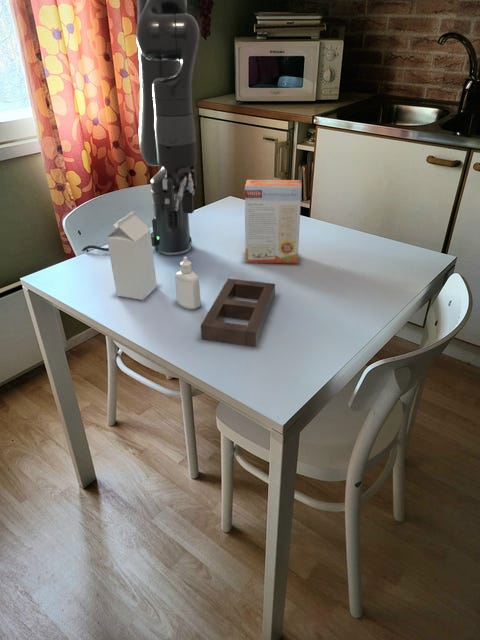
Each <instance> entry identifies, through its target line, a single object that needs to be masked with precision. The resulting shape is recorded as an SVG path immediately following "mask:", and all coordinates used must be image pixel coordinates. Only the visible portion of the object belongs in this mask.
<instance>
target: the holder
mask: <svg viewBox="0 0 480 640" xmlns="http://www.w3.org/2000/svg"><path fill="white" fill-rule="evenodd" d="M235 298H241V299H242V298H243V299H250V300H258V301H257V302H256V301H247V300H238V299H235ZM275 298H276V283H272V282H271V283H270V282H265V281H264V282H263V281H256V280H255V281H253V280H245V279H237V278H227V280H226V281H225V283H224V284H223V286H222V288H221V290H220V291H219V292H218V295H217V297H216V298H215V300H214V302H213V303H212V305H211V307H210V309H209V310H208V311H207V314H206V315H205V317H204V319H203V320H202V322H201V324H200V333H201V334H200V335H201V340H204V341H210V342H218V343H225V344H231V345H238V346H246V347H253V348H256V347H257V344H258V342H259V339H260V337H261V333H262V331H263V330H264V327H265V324H266V321H267V319H268V316H269V313H270V311H271V308H272V305H273V302H274V300H275ZM225 318H227V319H237V320H243V321H248V323H247V325H246V324H240V323H232V322H225V321H223V320H224V319H225Z"/></svg>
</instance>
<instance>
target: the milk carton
mask: <svg viewBox="0 0 480 640" xmlns="http://www.w3.org/2000/svg"><path fill="white" fill-rule="evenodd" d="M113 227H114V228H115V229H114V230H113V231H112V232H111V233H110V234H109V235H107V236H106V242H107V248H109V251H108V253H109V258H110V265H111V270H112V276H113V277H112V278H113V282H114V287H115V293H116V296H117V297H123V298H127V299H132V300H140V301H144V300H145V299H146V298H147V297H148V296H149V295H150V294H152V292H153V291H154V290H155V289H157V287H158V283H157V275H156V268H155V260H154V259H155V258H154V252H153V251H154V250H153V246H152V241H151V233H152V232H151V228H149V227H148V226H147V224H145V223H144V221H142V220H141V219H140V218H139V217H138V216H137V215H136V211H135V210H132V211H131V212H130V213H128V214H127V215H125V216H124V217H122V218H121V219H119V220H118V221H116V222H115V223H114V224H113Z"/></svg>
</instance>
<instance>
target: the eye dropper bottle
mask: <svg viewBox="0 0 480 640" xmlns="http://www.w3.org/2000/svg"><path fill="white" fill-rule="evenodd" d="M188 259H189V258H188V256H183V259H182V261H180V263H179V264H180V265H179V267H180V270H179V271H177V272H176V273H175V276H174V280H175V290H176V300H177V301H176V302H177V304H178V305H179V306H181V307H182V308H184V309H187V310H196V309H198V308H200V307H201V306H202V305H201V304H202V303H201V302H202V301H201V287H200V286H201V285H200V278H199V276H198V275H197V274H196V273H195V272H194V271H193V267H192V261H190V260H188Z"/></svg>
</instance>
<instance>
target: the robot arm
mask: <svg viewBox="0 0 480 640" xmlns="http://www.w3.org/2000/svg"><path fill="white" fill-rule="evenodd" d="M136 1H137V5H136V7H137V25H136V32H135V33H136V37H135V38H136V39H135V40H136V46H137V49H138V51H137V53H138V64H139V65H138V68H139V88H140V89H139V90H140V91H139V92H140V93H139V94H140V95H139V96H140V97H139V99H140V101H139V102H140V103H139V125H138V147H139V151H140V154H141V157H142V159H143V161H144V162H145V163H146V164H147V165H148V166H150V167H158V166H160V167H161V168H160V170H159V171H158V172H157V173H155V175H154V176H153V177H152V178H150V190H151V199H152V207H153V215H154V216H153V217H152V219H151V225H152V232H150V233H151V241H152V248H153V247H154V250H155V251H154V252H158V253H160V254H161V255H164V256H181V255H185V254H187V253H189V252H190V251H191V249H192V244H193V241H192V237H191V232H190V231H191V230H190V218H189V216H190V215H189V214H191V215H192V214H193V213H194V211H195V204H194V196H195V191H196V190H197V189H198V182H197V181H198V180H197V166H196V165H197V161H198V157H197V139H196V138H197V137H196V123H195V118H194V106H193V105H194V103H193V102H194V101H193V77H194V70H195V65H196V61H197V56H198V51H199V46H200V41H201V39H200V38H201V32H200V27H199V24H198V21H197V20H196V19H195V17H194V16H193V15H191V14H190V13H188V1H187V0H136ZM88 249H95V250H98V251H104V252H109V248H108V247H102V246H98V245H93V244H90V245H85V246H84V247H83V248H82V249H81V251H82V252H85V251H87V250H88Z"/></svg>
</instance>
